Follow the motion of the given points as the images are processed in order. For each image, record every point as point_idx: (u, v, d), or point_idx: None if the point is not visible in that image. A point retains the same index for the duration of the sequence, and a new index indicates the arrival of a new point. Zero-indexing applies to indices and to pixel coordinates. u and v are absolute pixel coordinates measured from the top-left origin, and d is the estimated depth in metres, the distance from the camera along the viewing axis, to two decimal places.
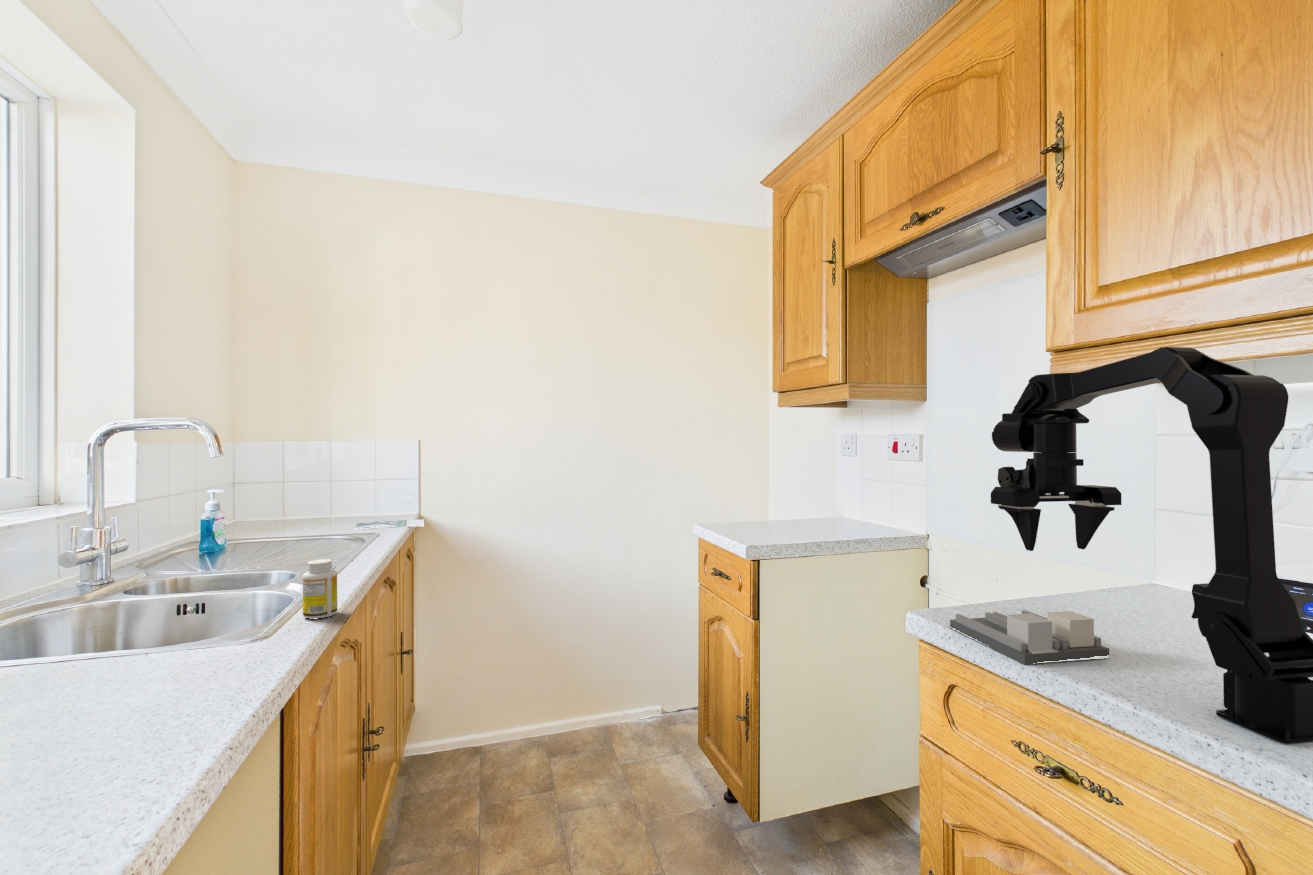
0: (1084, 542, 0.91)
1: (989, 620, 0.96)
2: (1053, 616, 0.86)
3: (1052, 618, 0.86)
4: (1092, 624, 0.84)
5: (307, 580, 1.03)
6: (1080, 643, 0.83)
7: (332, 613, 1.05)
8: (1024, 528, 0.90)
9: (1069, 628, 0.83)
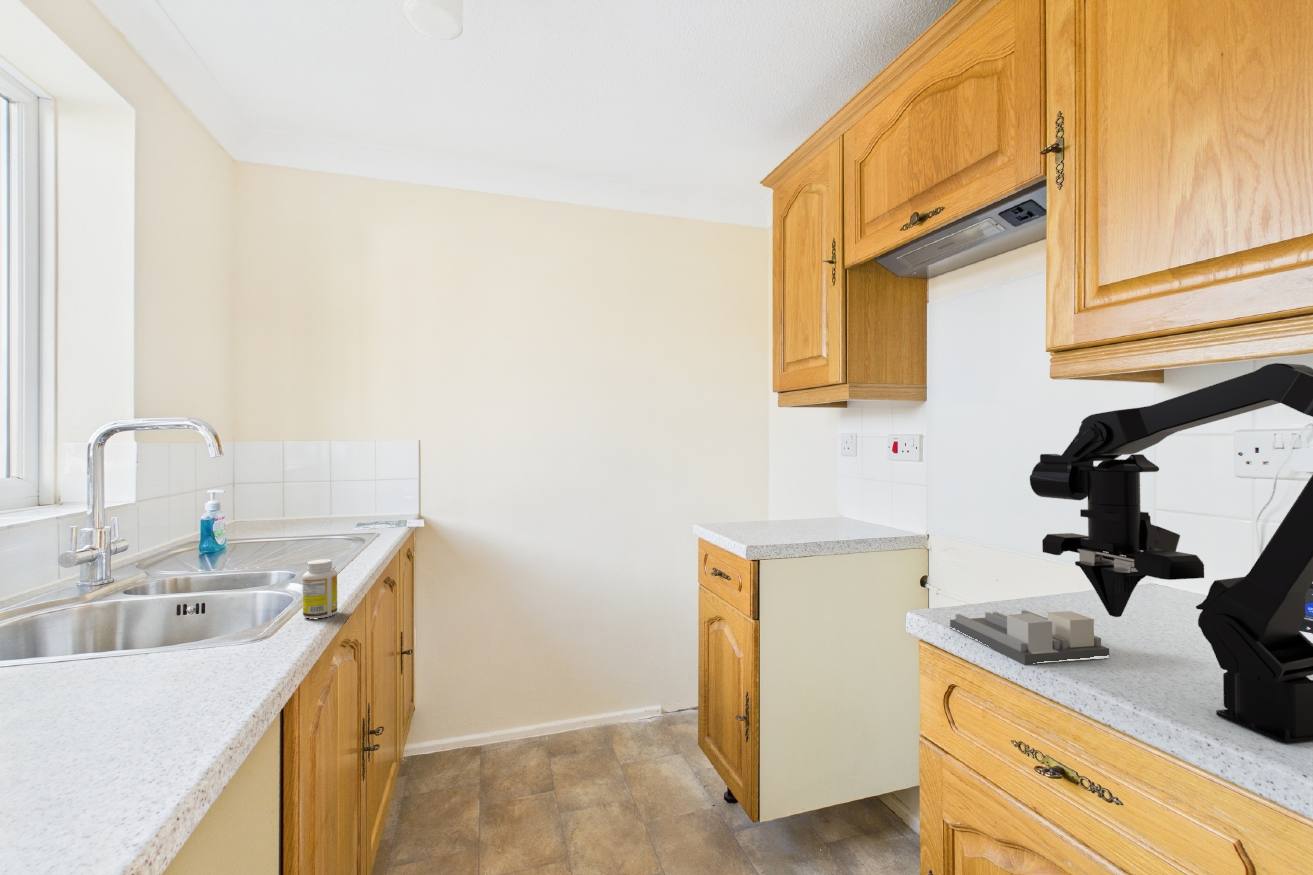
0: (1110, 608, 0.78)
1: (989, 620, 0.96)
2: (1053, 616, 0.86)
3: (1052, 618, 0.86)
4: (1092, 624, 0.84)
5: (307, 580, 1.03)
6: (1080, 643, 0.83)
7: (332, 613, 1.05)
8: None
9: (1069, 628, 0.83)
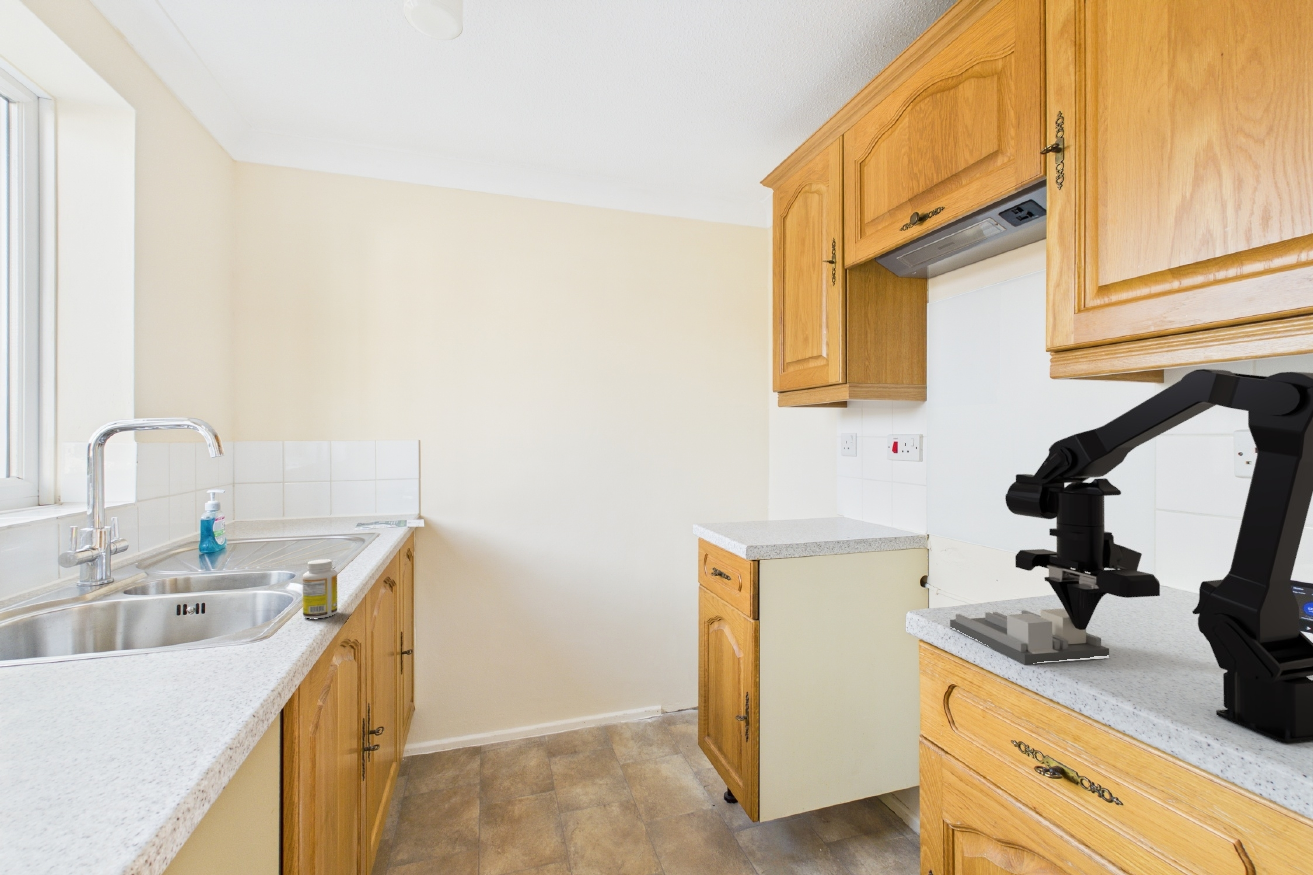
0: (1076, 621, 0.84)
1: (989, 620, 0.96)
2: (1045, 613, 0.87)
3: (1045, 615, 0.88)
4: None
5: (307, 580, 1.03)
6: (1072, 640, 0.85)
7: (332, 613, 1.05)
8: None
9: (1061, 625, 0.85)
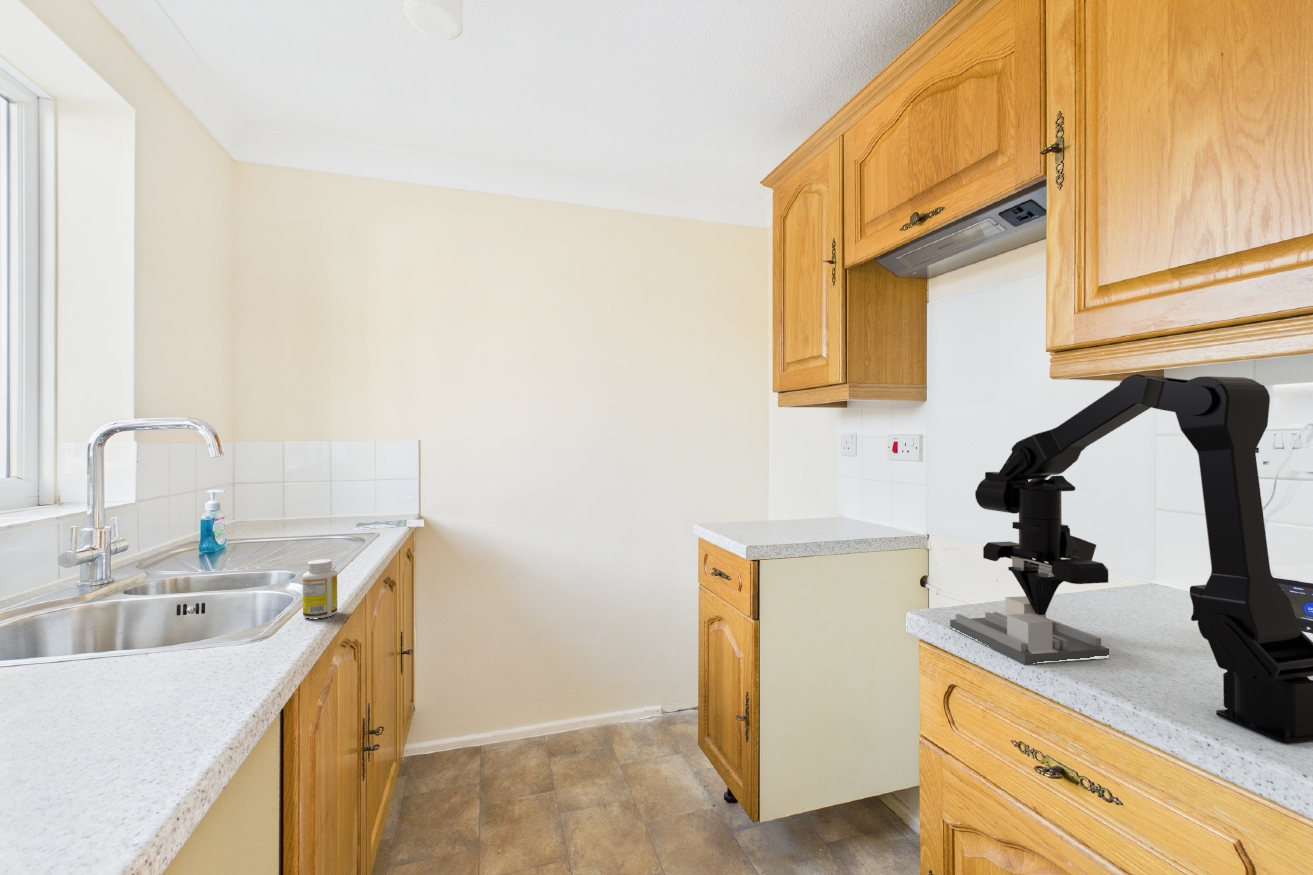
0: (1036, 607, 0.91)
1: (989, 620, 0.96)
2: (1009, 600, 0.95)
3: (1009, 602, 0.95)
4: None
5: (307, 580, 1.03)
6: None
7: (332, 613, 1.05)
8: None
9: (1023, 611, 0.92)
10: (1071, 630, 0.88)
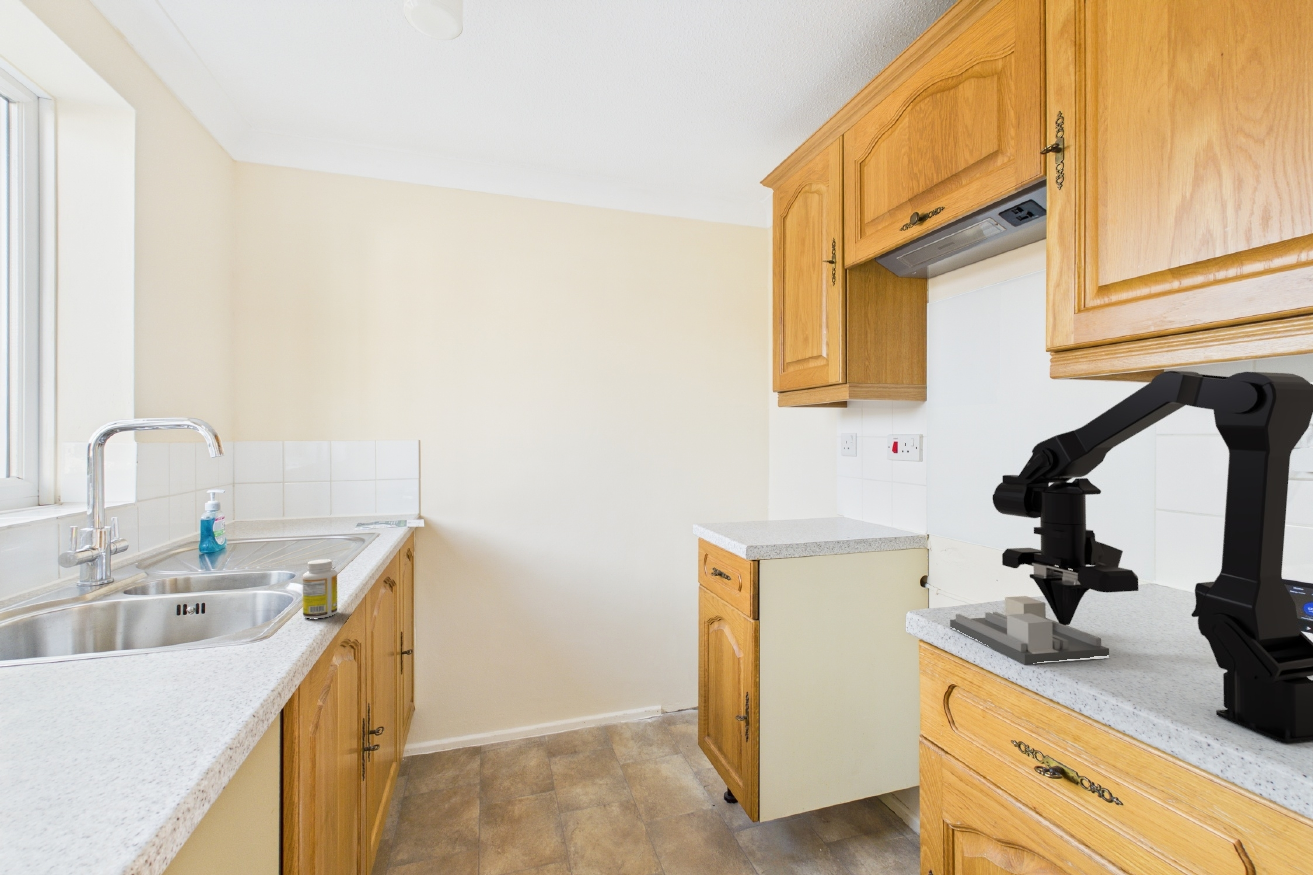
0: (1060, 617, 0.86)
1: (989, 620, 0.96)
2: (1009, 600, 0.95)
3: (1009, 602, 0.95)
4: (1044, 607, 0.92)
5: (307, 580, 1.03)
6: None
7: (332, 613, 1.05)
8: None
9: (1022, 611, 0.92)
10: (1071, 630, 0.88)
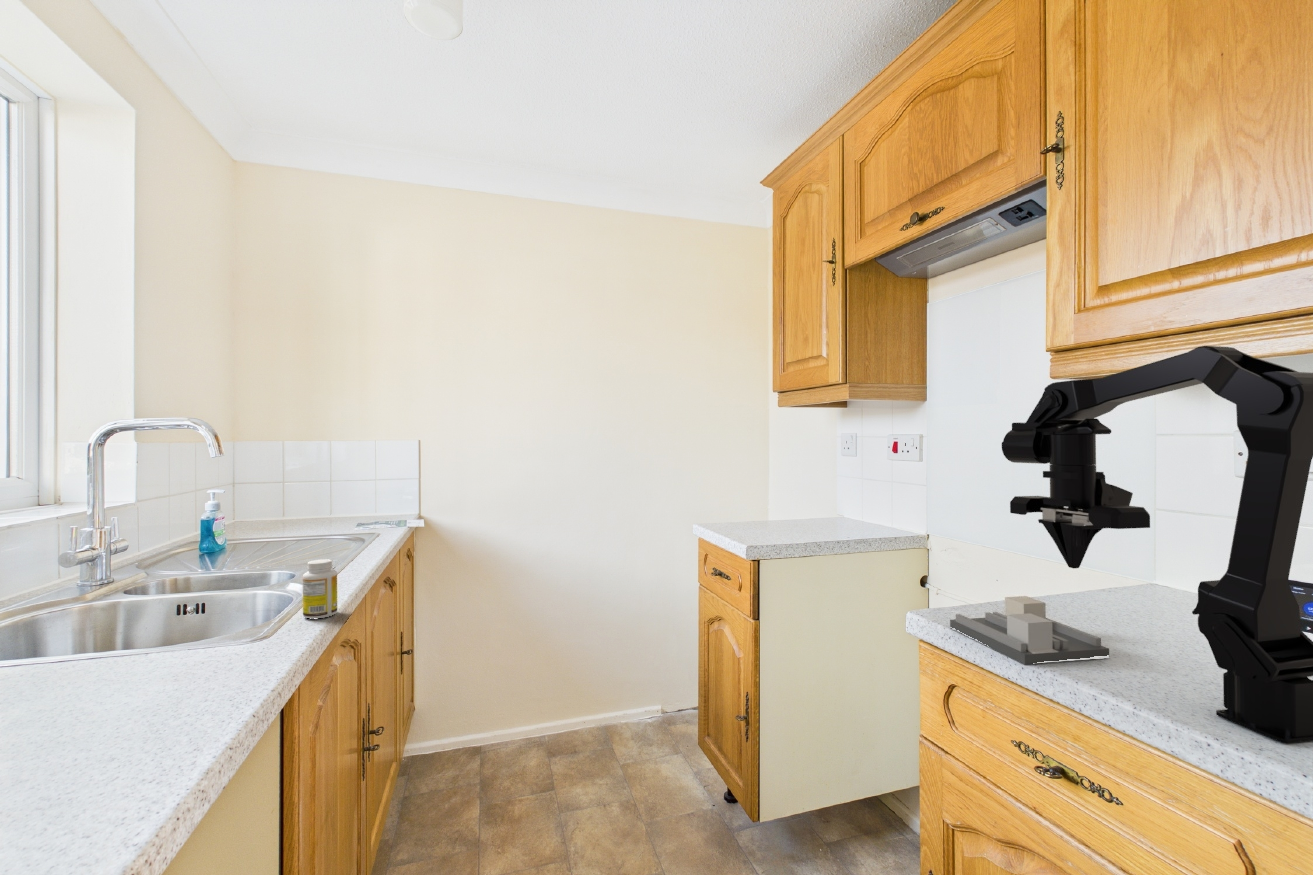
0: (1069, 560, 0.86)
1: (989, 620, 0.96)
2: (1009, 600, 0.95)
3: (1009, 602, 0.95)
4: (1044, 607, 0.92)
5: (307, 580, 1.03)
6: None
7: (332, 613, 1.05)
8: None
9: (1022, 611, 0.92)
10: (1071, 630, 0.88)
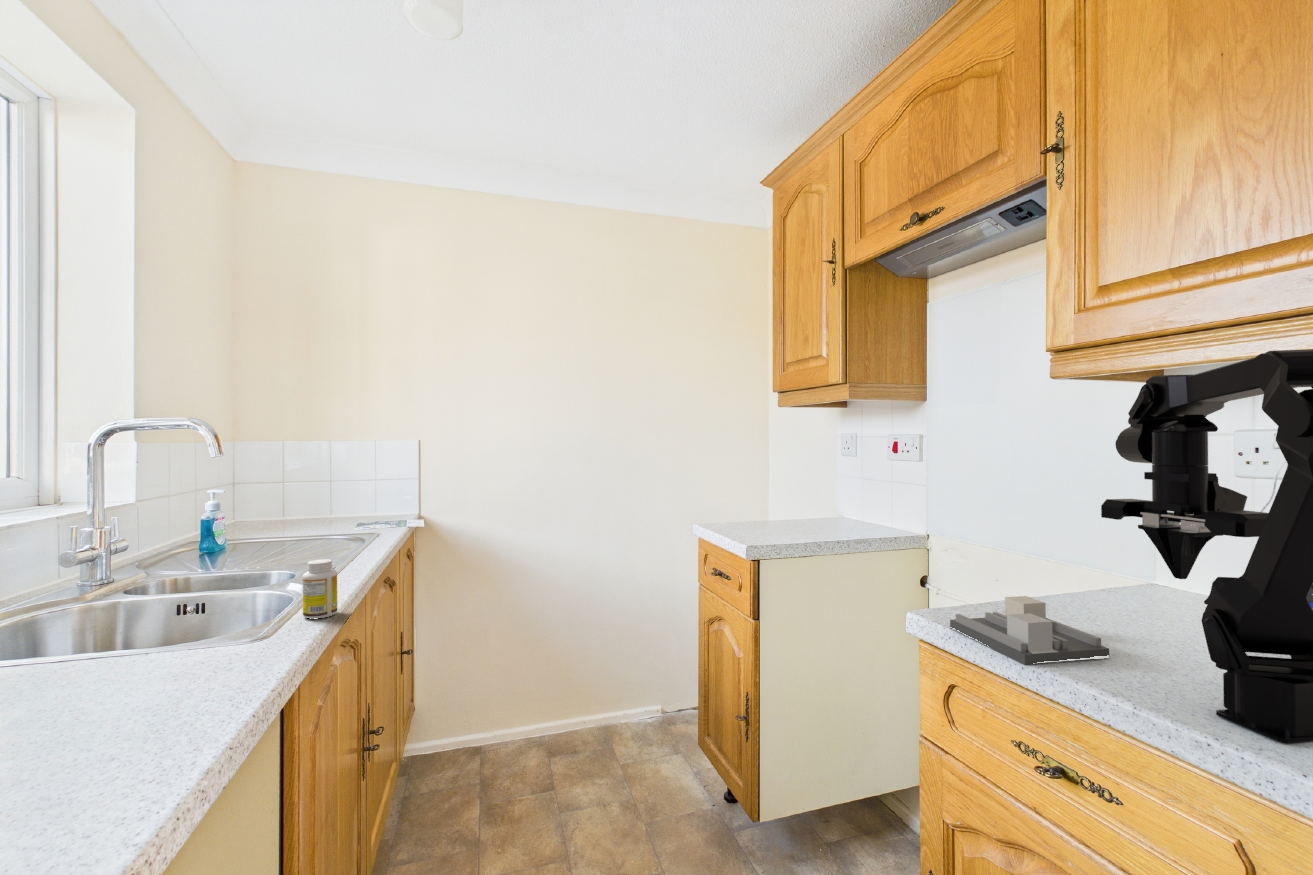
0: (1176, 570, 0.78)
1: (989, 620, 0.96)
2: (1009, 600, 0.95)
3: (1009, 602, 0.95)
4: (1044, 607, 0.92)
5: (307, 580, 1.03)
6: None
7: (332, 613, 1.05)
8: None
9: (1022, 611, 0.92)
10: (1071, 630, 0.88)
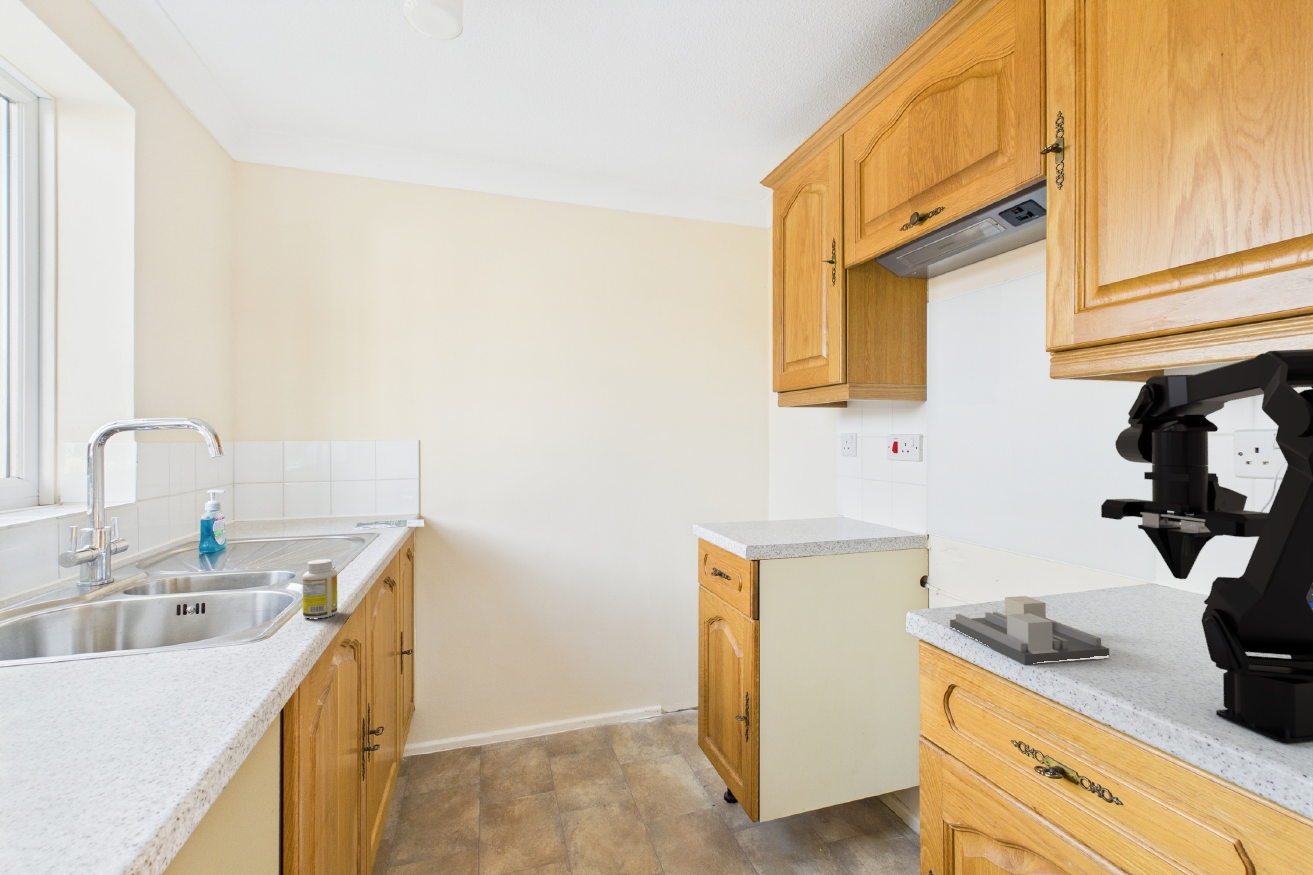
0: (1176, 570, 0.78)
1: (989, 620, 0.96)
2: (1009, 600, 0.95)
3: (1009, 602, 0.95)
4: (1044, 607, 0.92)
5: (307, 580, 1.03)
6: None
7: (332, 613, 1.05)
8: None
9: (1022, 611, 0.92)
10: (1071, 630, 0.88)
